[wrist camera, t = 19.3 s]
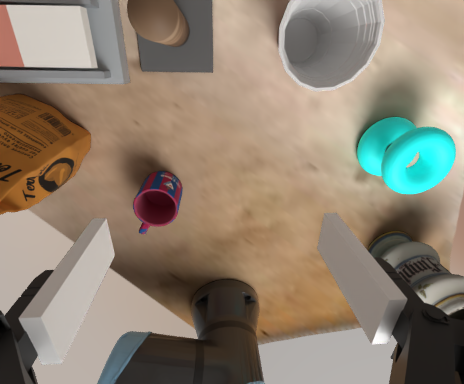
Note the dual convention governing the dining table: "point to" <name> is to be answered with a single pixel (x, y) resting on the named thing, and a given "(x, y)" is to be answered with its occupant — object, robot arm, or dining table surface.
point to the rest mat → (192, 52)
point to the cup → (158, 200)
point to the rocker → (45, 37)
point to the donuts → (406, 154)
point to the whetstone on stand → (104, 41)
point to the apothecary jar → (422, 271)
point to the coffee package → (36, 151)
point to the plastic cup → (329, 40)
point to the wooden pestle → (159, 21)
